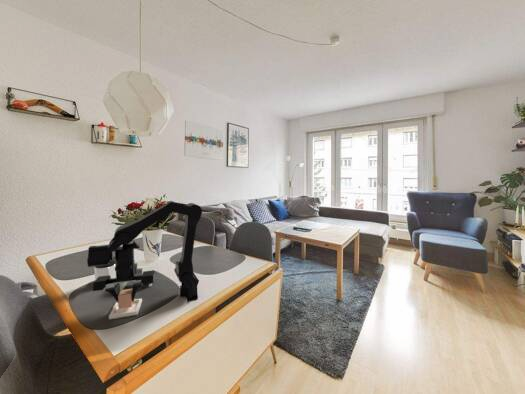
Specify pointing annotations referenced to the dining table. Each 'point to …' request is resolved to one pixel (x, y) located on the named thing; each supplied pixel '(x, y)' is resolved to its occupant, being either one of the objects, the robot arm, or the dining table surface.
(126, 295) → the block
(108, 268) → the jar
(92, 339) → the dining table surface
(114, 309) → the dish
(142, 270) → the cover
